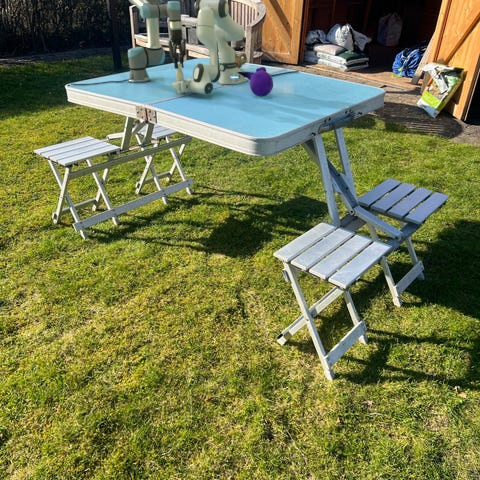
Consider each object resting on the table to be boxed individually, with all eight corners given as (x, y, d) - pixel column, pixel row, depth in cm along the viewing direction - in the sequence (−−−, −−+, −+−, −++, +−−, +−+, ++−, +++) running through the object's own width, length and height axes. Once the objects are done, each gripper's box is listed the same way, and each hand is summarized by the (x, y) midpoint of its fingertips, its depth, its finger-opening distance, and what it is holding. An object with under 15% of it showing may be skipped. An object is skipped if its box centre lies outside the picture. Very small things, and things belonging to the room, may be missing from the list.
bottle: (184, 91, 304) (182, 64, 296) (185, 93, 300) (182, 65, 291) (177, 92, 304) (175, 64, 295) (177, 93, 300) (175, 66, 291)
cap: (178, 67, 296) (178, 63, 295) (183, 67, 294) (183, 64, 293) (174, 68, 293) (174, 64, 292) (179, 68, 292) (179, 64, 290)
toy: (257, 88, 307) (273, 101, 287) (234, 84, 300) (248, 97, 279) (264, 65, 299) (280, 76, 279) (240, 59, 292) (255, 71, 271)
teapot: (227, 72, 361) (226, 52, 354) (220, 70, 370) (219, 51, 362) (250, 70, 371) (249, 50, 363) (242, 68, 379) (242, 48, 372)
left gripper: (182, 27, 289) (185, 65, 301) (161, 29, 280) (165, 69, 291) (190, 28, 285) (192, 66, 297) (168, 30, 275) (172, 70, 287)
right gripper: (204, 77, 295) (191, 75, 304) (180, 82, 283) (166, 79, 291) (205, 87, 299) (191, 84, 307) (181, 92, 286) (167, 89, 295)
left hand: (179, 67), depth 294 cm, fingers closed on cap, 4 cm apart
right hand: (179, 82), depth 299 cm, fingers closed on bottle, 5 cm apart
